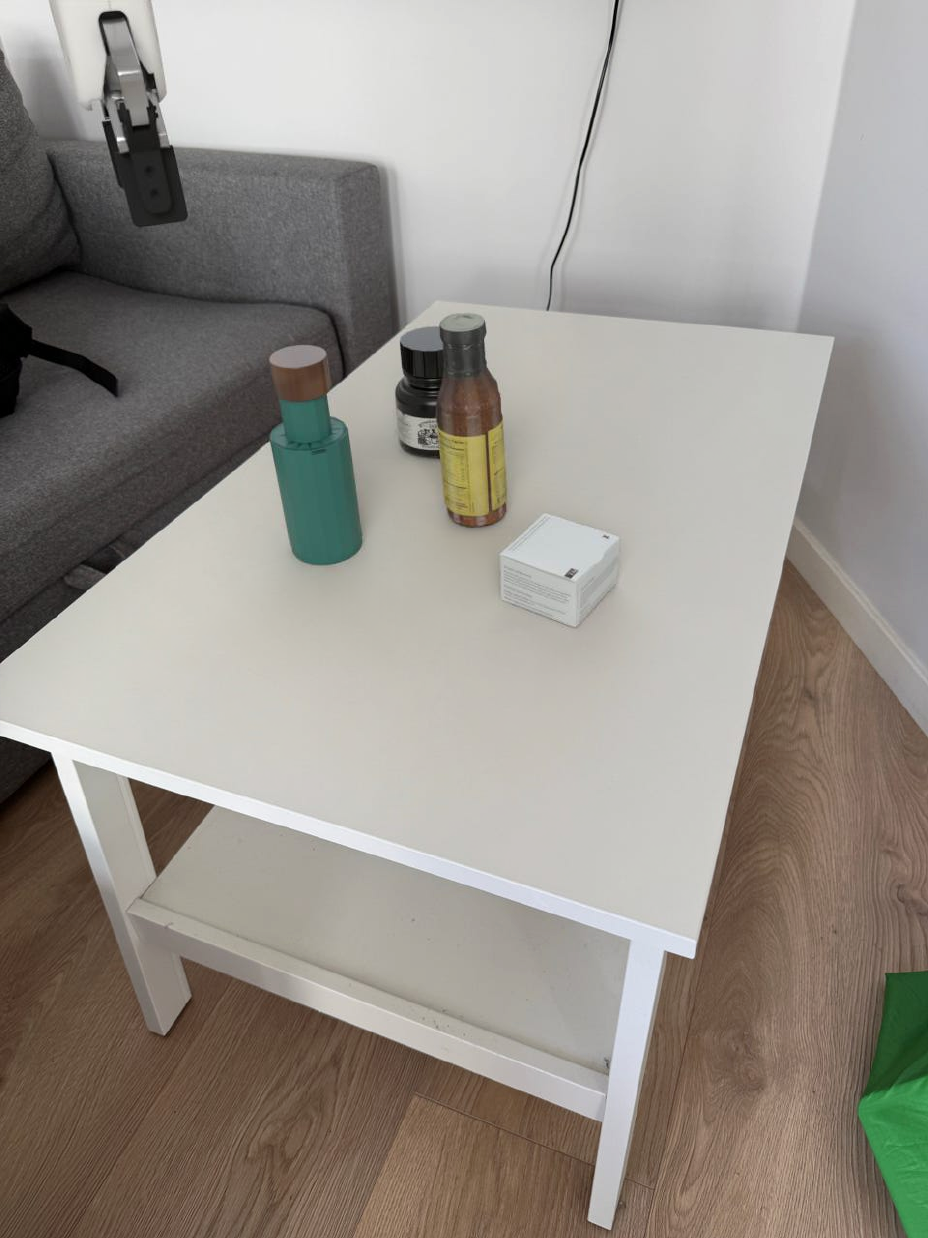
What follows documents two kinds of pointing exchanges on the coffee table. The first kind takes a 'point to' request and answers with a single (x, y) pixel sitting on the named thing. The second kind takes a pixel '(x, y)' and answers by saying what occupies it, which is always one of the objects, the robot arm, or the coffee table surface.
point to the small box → (559, 569)
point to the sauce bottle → (470, 426)
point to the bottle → (316, 482)
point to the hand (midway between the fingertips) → (151, 202)
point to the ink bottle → (420, 390)
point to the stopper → (300, 373)
